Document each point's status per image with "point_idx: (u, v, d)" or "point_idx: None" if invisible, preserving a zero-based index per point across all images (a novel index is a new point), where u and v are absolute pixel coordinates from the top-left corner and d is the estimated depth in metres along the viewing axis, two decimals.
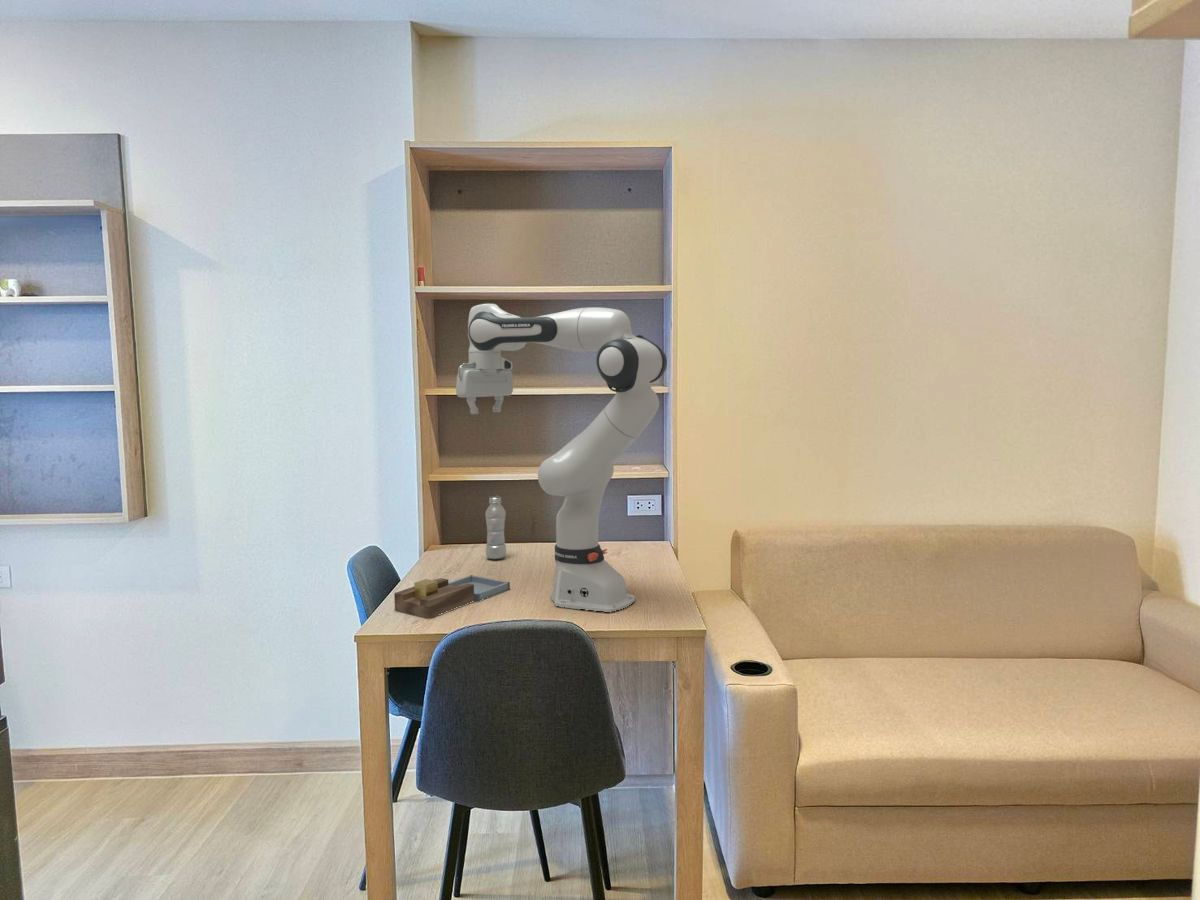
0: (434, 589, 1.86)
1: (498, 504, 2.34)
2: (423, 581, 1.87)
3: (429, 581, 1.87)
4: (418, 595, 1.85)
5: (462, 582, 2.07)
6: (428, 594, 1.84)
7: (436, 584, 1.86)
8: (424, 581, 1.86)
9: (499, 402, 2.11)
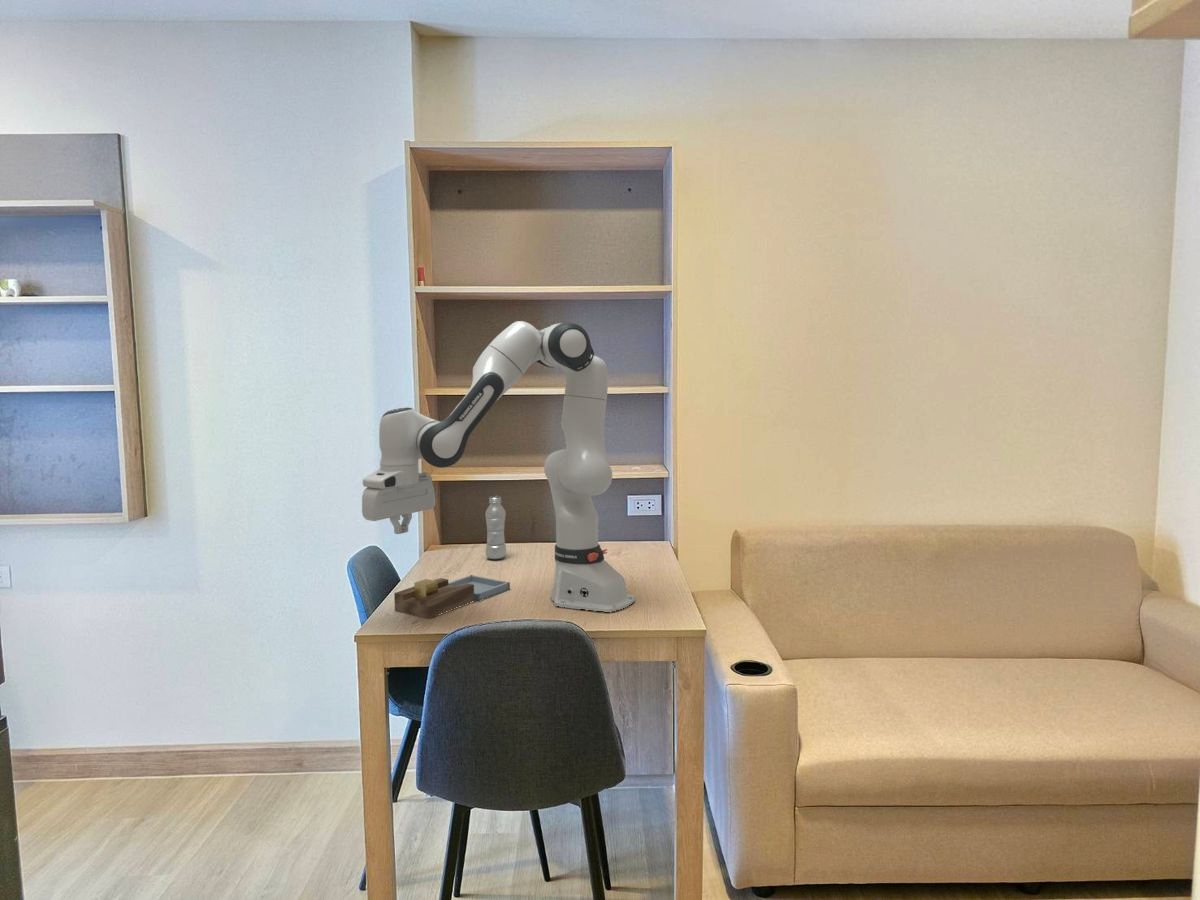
0: (434, 589, 1.86)
1: (498, 504, 2.34)
2: (423, 581, 1.87)
3: (429, 581, 1.87)
4: (418, 595, 1.85)
5: (462, 582, 2.07)
6: (428, 594, 1.84)
7: (436, 584, 1.86)
8: (424, 581, 1.86)
9: None
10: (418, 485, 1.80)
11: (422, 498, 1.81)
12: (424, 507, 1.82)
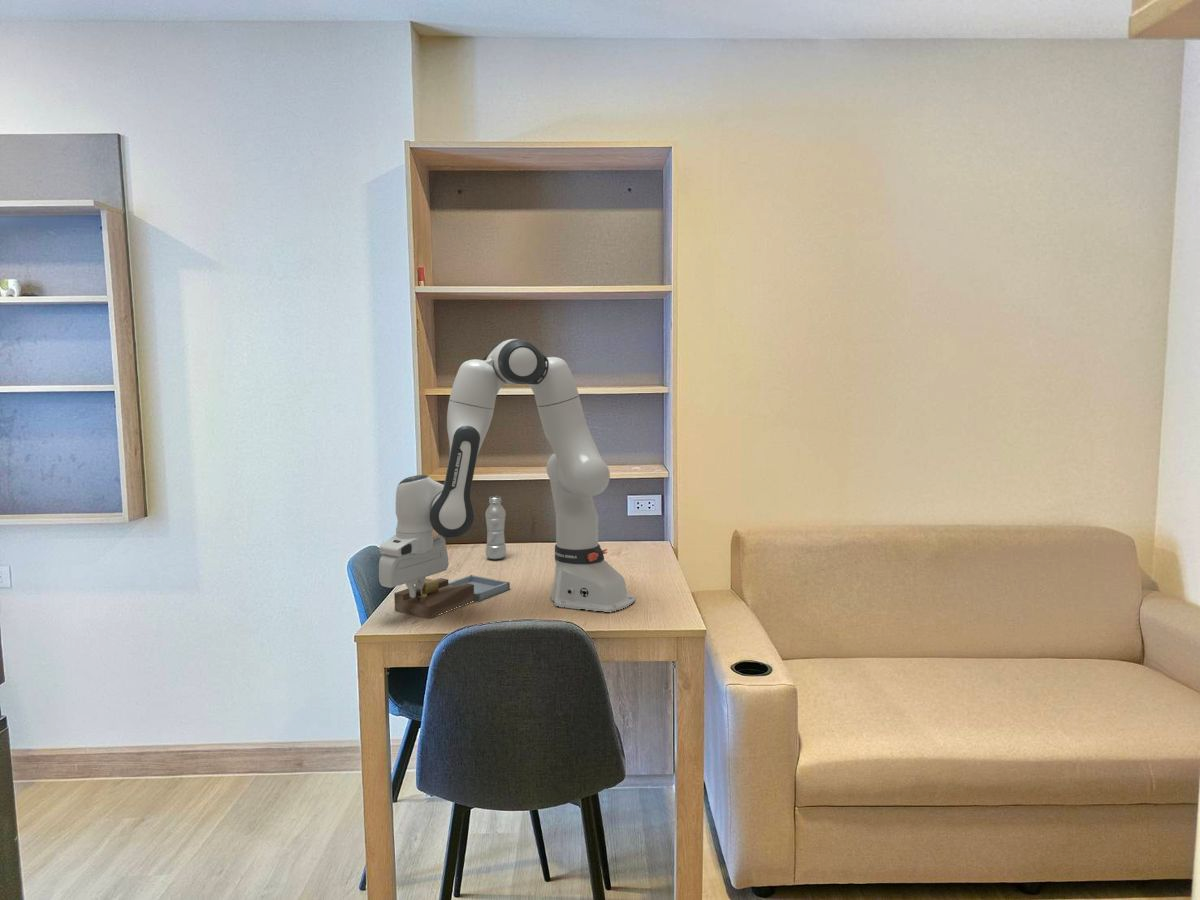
0: (435, 588, 1.86)
1: (498, 504, 2.34)
2: None
3: (431, 580, 1.87)
4: None
5: (462, 582, 2.07)
6: (429, 593, 1.85)
7: (437, 583, 1.87)
8: None
9: None
10: (433, 549, 1.85)
11: (436, 562, 1.86)
12: (438, 570, 1.87)
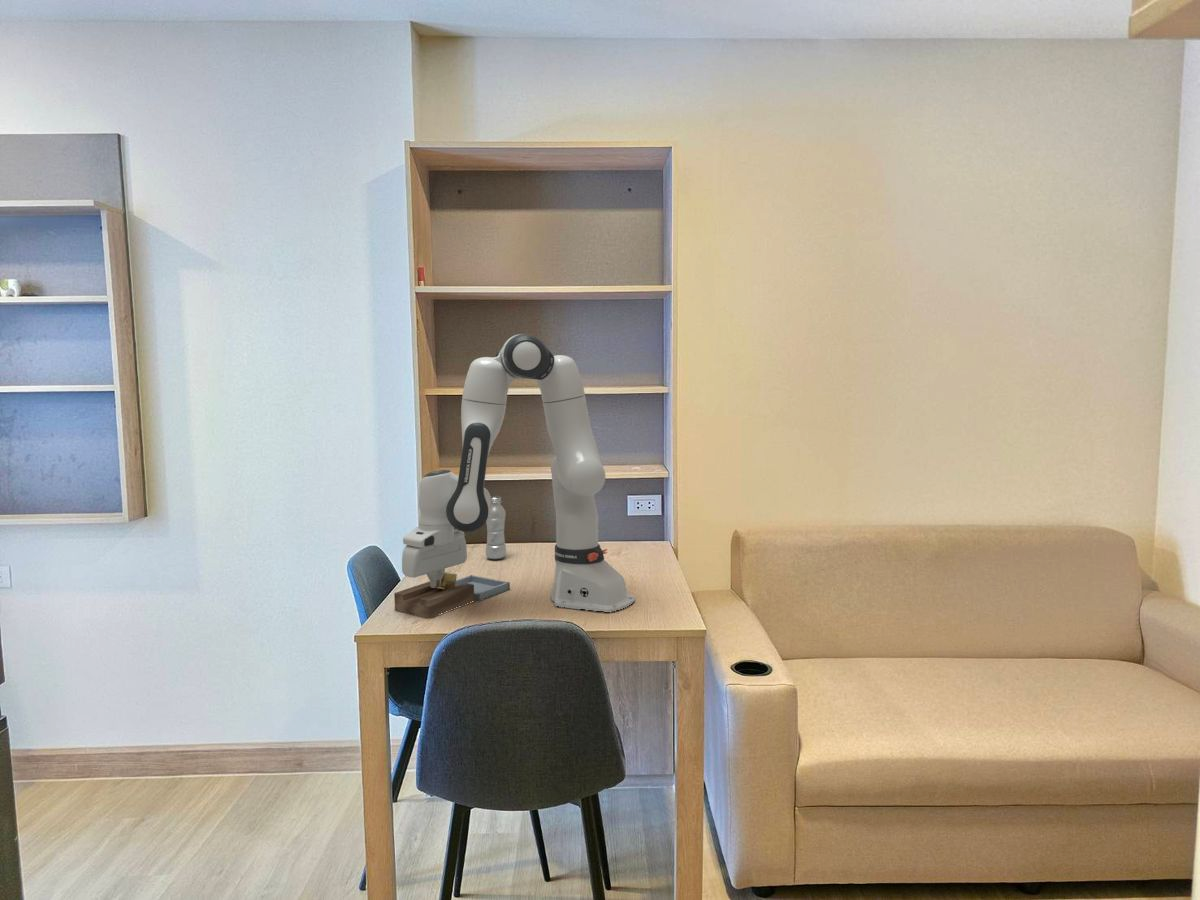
0: (453, 581, 1.92)
1: (498, 504, 2.34)
2: None
3: (449, 573, 1.94)
4: None
5: (462, 582, 2.07)
6: (447, 583, 1.91)
7: (455, 577, 1.93)
8: None
9: None
10: (453, 542, 1.91)
11: (455, 554, 1.93)
12: (457, 562, 1.93)
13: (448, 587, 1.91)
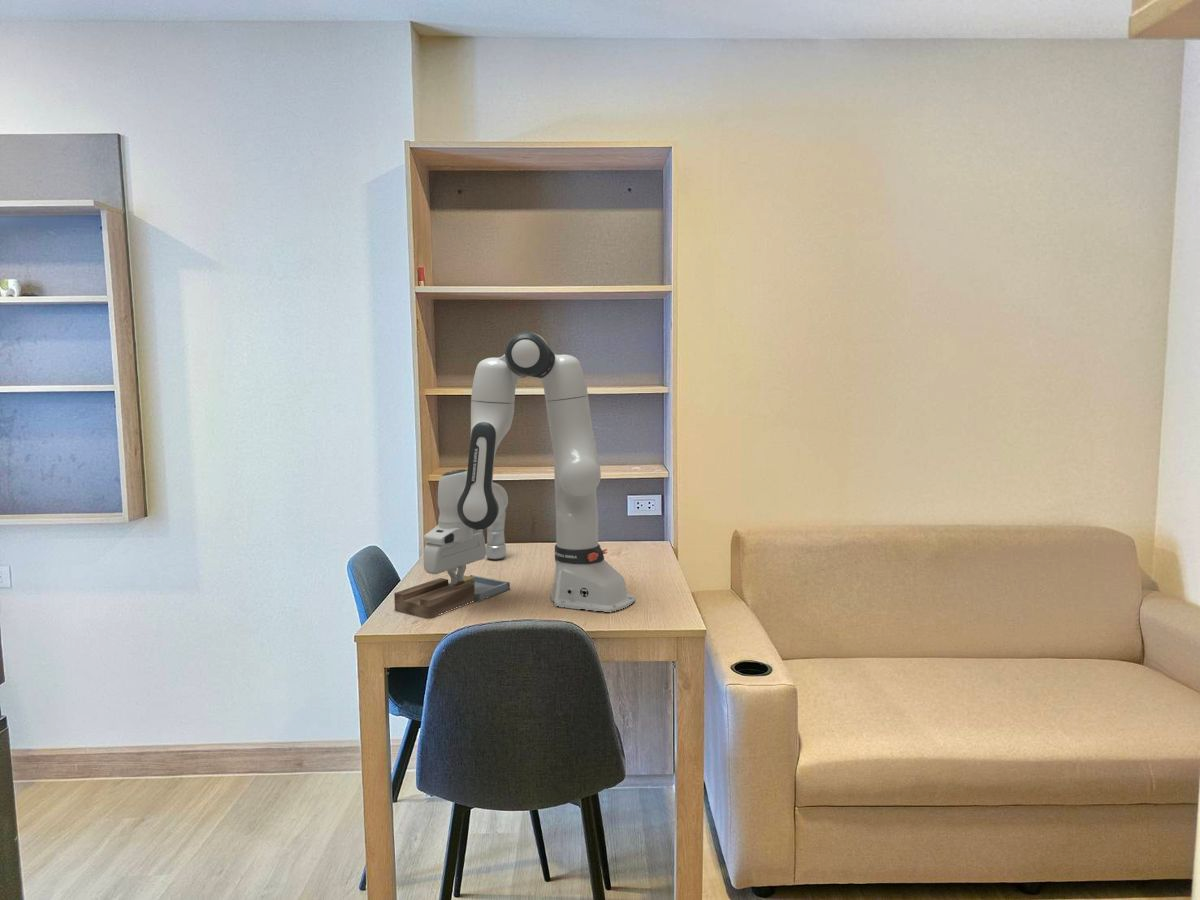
0: None
1: None
2: None
3: None
4: None
5: None
6: (468, 582, 1.97)
7: None
8: None
9: None
10: (472, 539, 1.97)
11: (475, 551, 1.98)
12: (477, 558, 1.99)
13: None
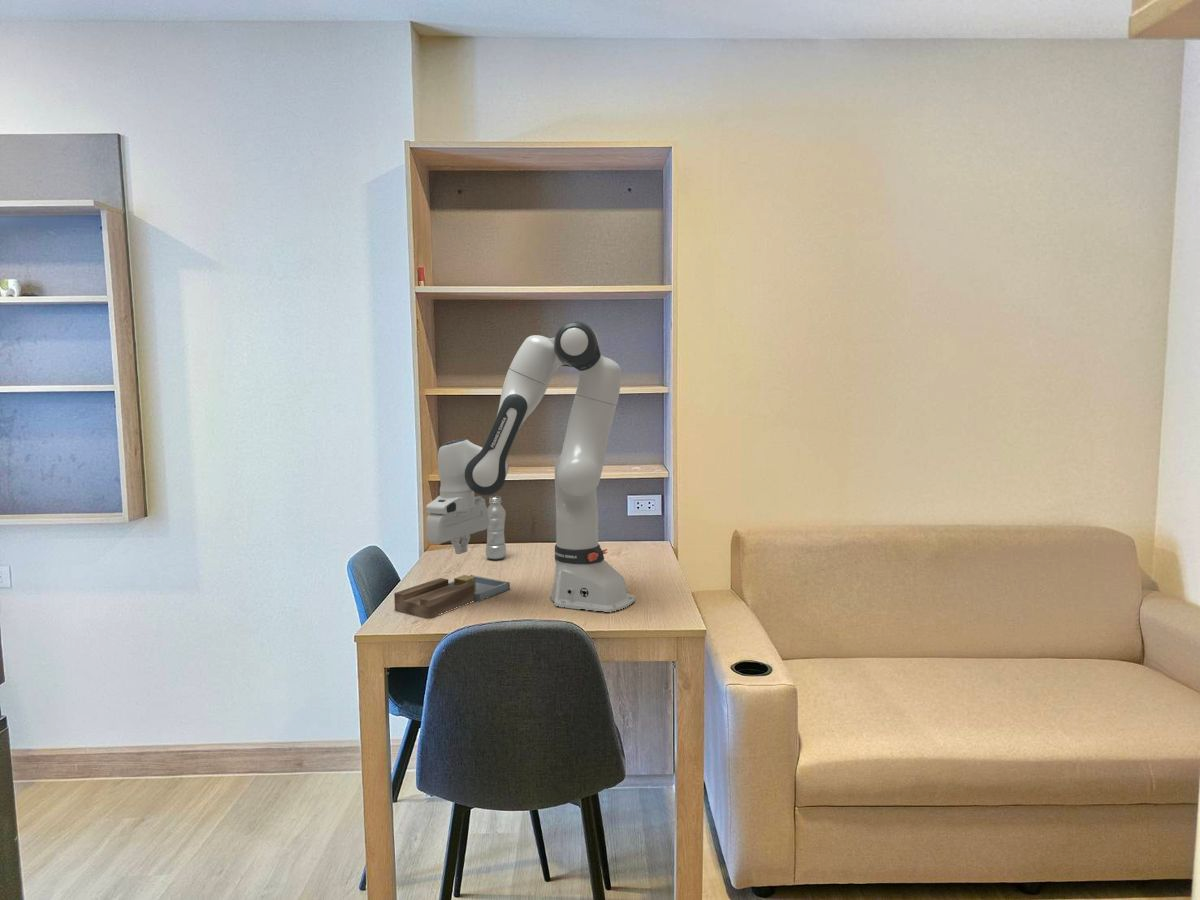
0: None
1: (498, 504, 2.34)
2: None
3: None
4: (460, 578, 1.99)
5: None
6: (469, 582, 1.98)
7: None
8: None
9: None
10: (474, 508, 1.97)
11: (478, 520, 1.98)
12: (480, 528, 1.99)
13: None
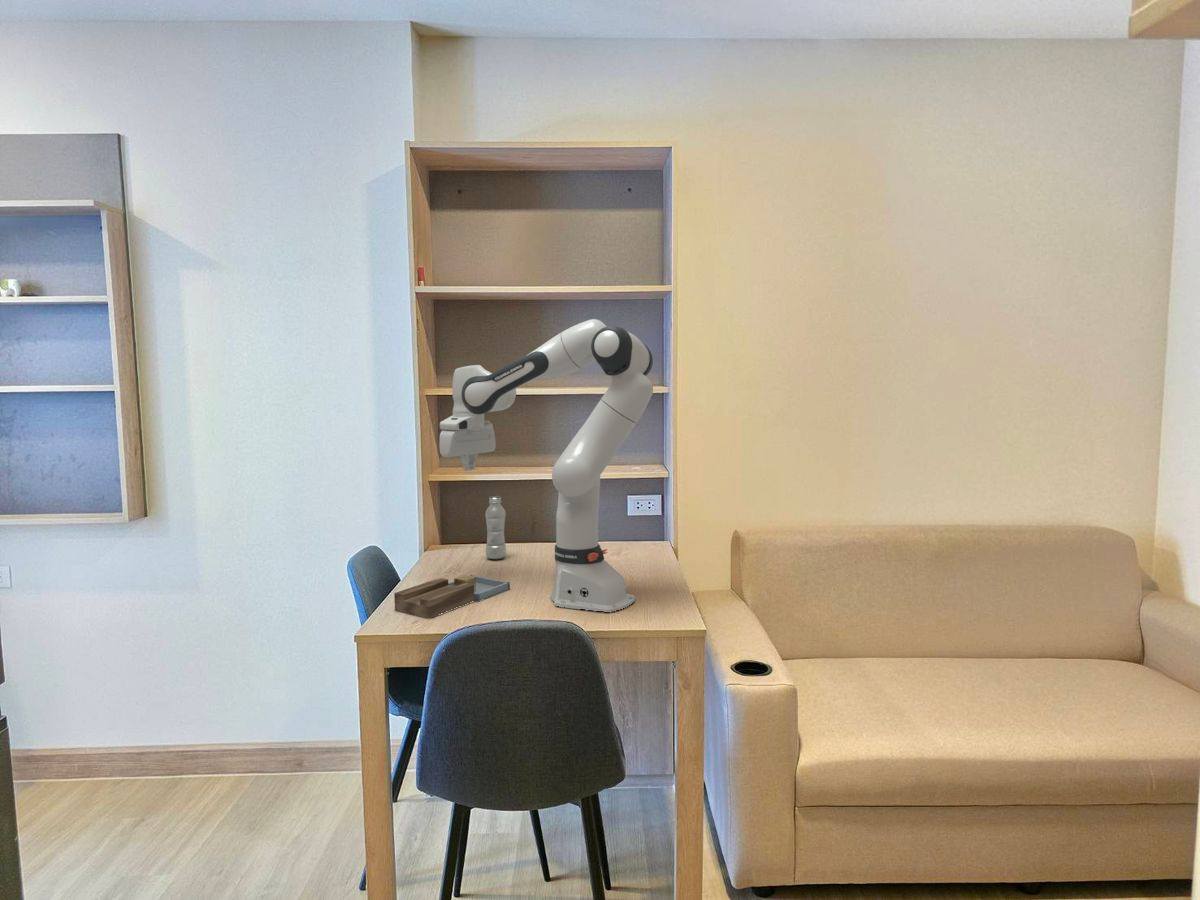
0: None
1: (498, 504, 2.34)
2: None
3: None
4: (460, 578, 1.99)
5: None
6: (469, 582, 1.98)
7: None
8: None
9: None
10: (483, 430, 2.14)
11: (485, 442, 2.15)
12: (487, 449, 2.16)
13: None
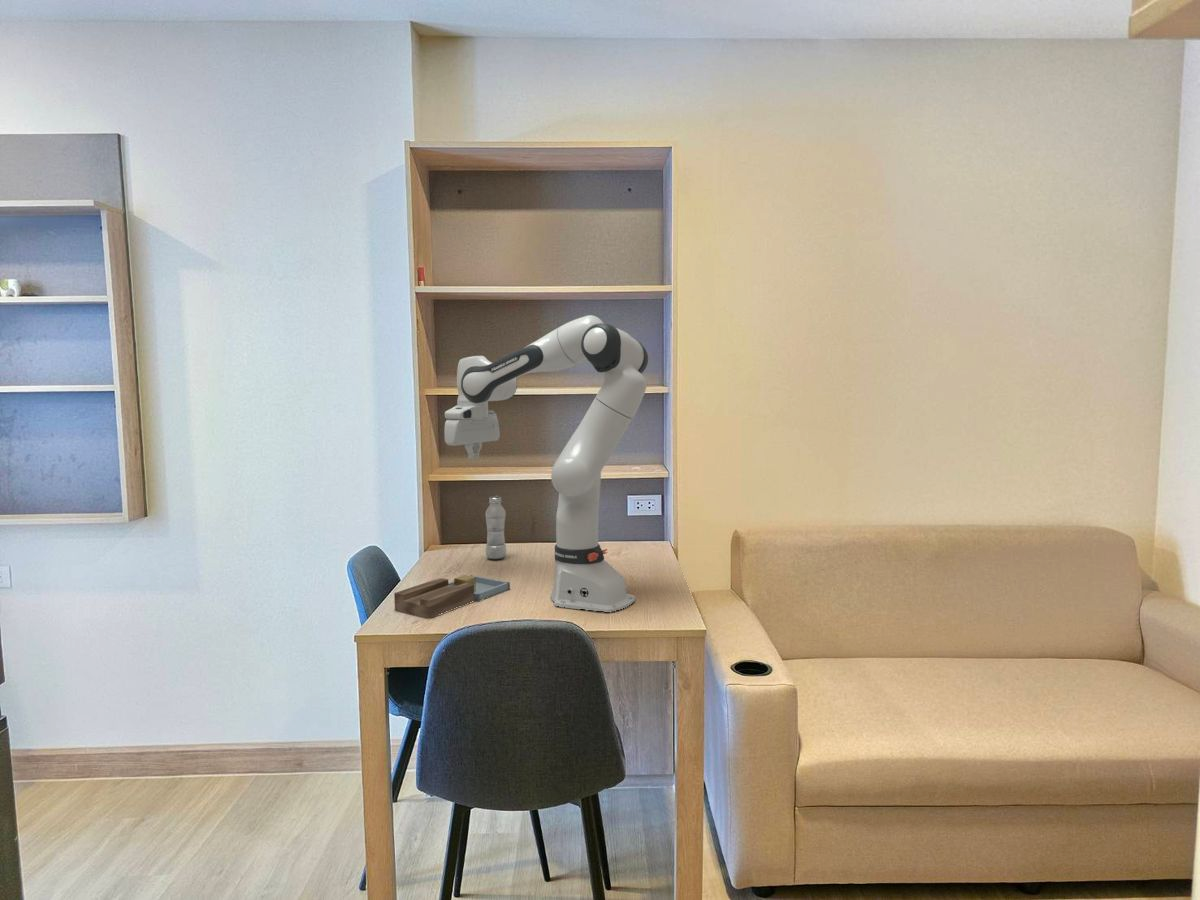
0: None
1: (498, 504, 2.34)
2: None
3: None
4: (460, 578, 1.99)
5: None
6: (469, 582, 1.98)
7: None
8: None
9: None
10: (487, 420, 2.19)
11: (489, 431, 2.21)
12: (491, 438, 2.21)
13: None
